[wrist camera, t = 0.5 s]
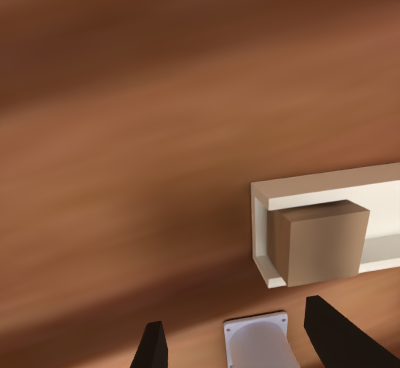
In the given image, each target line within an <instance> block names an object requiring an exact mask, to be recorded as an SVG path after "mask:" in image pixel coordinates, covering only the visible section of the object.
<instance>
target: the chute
mask: <svg viewBox="0 0 400 368" xmlns="http://www.w3.org/2000/svg"><path fill="white" fill-rule="evenodd" d="M345 199H347V200H349V201H351V202H354V203H356V204H358V205H360V206H362V207H364V208H366V209H368V210H370V215H369V220H368V225H367V231H366V236H365V241H364V246H363V251H362V256H361V262H360V267H359V272H358V273H362V272H368V271H374V270H380V269H385V268H391V267H397V266H400V162H397V163H390V164H383V165H375V166H368V167H361V168H354V169H346V170H339V171H332V172H325V173H317V174H310V175H303V176H296V177H288V178H281V179H274V180H267V181H259V182H252V183H251V211H252V246H253V259H254V261H255V263H256V265H257V267H258V269H259V271H260V273H261V275H262V277H263V279H264V280H265V282H266V284H267V286H268V288H272V287H278V286H284V285H286V283H285V282H284V280H283V279H282V277H281V276H280V274H279V272H278V271H277V269H276V268H275V266H274V265H273V263H272V262H271V260H270V258H269V257H268V255H267V209H268V210H269V211H270V210H277V209H284V208H290V207H297V206H304V205H311V204H318V203H325V202H331V201H338V200H345Z"/></svg>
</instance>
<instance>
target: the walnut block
mask: <svg viewBox="0 0 400 368" xmlns="http://www.w3.org/2000/svg"><path fill="white" fill-rule="evenodd" d="M369 215H370V210H368V209H366V208H364V207H362V206H360V205H358V204H356V203H354V202H351V201H349V200H347V199H345V200H338V201H331V202H325V203H318V204H311V205H304V206H297V207H290V208H284V209H277V210H270V211H269V210H268V209H267V255H268V257H269V258H270V260H271V262H272V263H273V265H274V266H275V268H276V269H277V271H278V272H279V274H280V276H281V277H282V279H283V280H284V282H285V283H286V285H287V286H288V287H292V286H298V285H304V284H310V283H315V282H321V281H327V280H333V279H339V278H345V277H351V276H357V275H358V272H359V267H360V262H361V256H362V251H363V246H364V241H365V236H366V231H367V225H368V220H369Z"/></svg>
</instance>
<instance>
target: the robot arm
mask: <svg viewBox="0 0 400 368" xmlns="http://www.w3.org/2000/svg"><path fill="white" fill-rule="evenodd" d="M287 320H288V316H287V314H286V312H277V313H272V314H266V315H260V316H255V317H249V318H243V319H237V320H232V321H227V322H225V323H224V334H225V344H226V354H227V364H228V368H300V366H299V364H298V361H297V359H296V357H295V355H294V353H293V351H292V349H291V347H290V345H289V343H288V341H287ZM304 328H305V330H306V332H307V334H308V336H309V339H310V341H311V343H312V345H313V347H314V349H315V351H316V353H317V354H318V356H319V358H320V359H321V361H322V363H323V364H324V366H325V368H400V359H398V358H397V357H396V356H394V355H393V354H392V353H390V352H389V351H388V350H386V349H385V348H384V347H382V346H381V345H380V344H378V343H377V342H376V341H375V340H373V339H372V338H371V337H369V336H368V335H367V334H366V333H364V332H363V331H362V330H360V329H359V328H358V327H357V326H356V325H354V324H353V323H352V322H351V321H349V320H348V319H347V318H346V317H344V316H343V315H342V314H341V313H340V312H338V311H337V310H336V309H335V308H333V307H332V306H331V305H330V304H329V303H327V302H326V301H325V300H324V299H322V298H321V297H320V296H319V295H316V296H310V297H307V298H306V308H305V319H304ZM130 368H168V347H167V343H166V339H165V334H164V330H163V326H162V321H157V322H151V323H148V324H147V325H146V328H145V331H144V334H143V337H142V339H141V342H140V344H139V347H138V349H137V352H136V354H135V357H134V359H133V361H132V364H131V366H130Z"/></svg>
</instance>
